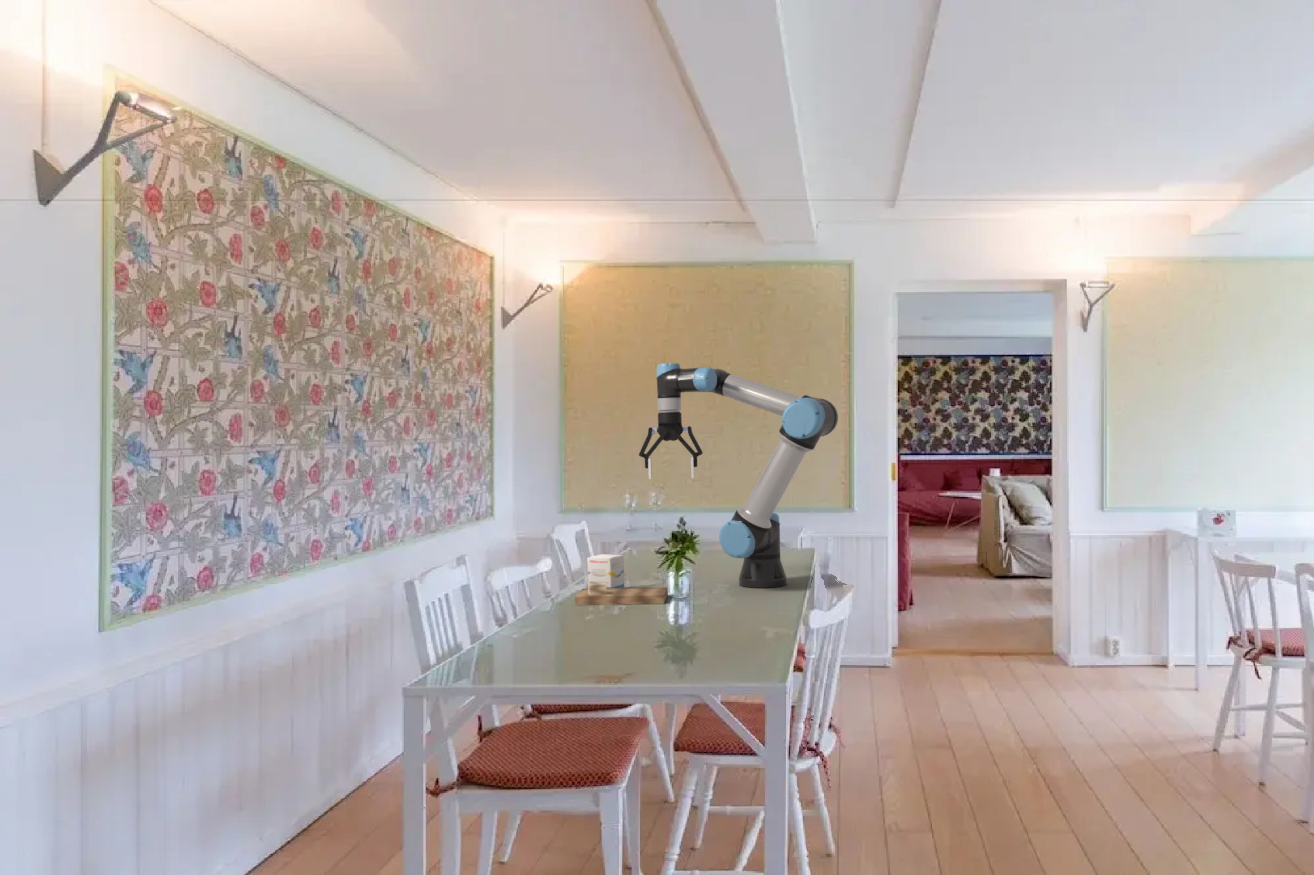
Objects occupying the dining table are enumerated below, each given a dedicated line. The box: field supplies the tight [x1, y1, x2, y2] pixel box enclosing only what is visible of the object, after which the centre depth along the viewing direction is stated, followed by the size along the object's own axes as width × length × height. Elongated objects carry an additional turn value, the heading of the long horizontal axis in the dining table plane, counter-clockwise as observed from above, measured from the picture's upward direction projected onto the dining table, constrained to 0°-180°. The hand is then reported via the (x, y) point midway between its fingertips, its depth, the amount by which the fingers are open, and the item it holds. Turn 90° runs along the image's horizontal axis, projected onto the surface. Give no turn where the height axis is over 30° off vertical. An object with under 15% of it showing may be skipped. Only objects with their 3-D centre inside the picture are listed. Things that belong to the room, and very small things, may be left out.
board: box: [574, 586, 669, 606], centre depth 303 cm, size 26×14×3 cm, turn 85°
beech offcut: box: [587, 582, 607, 596], centre depth 300 cm, size 5×4×3 cm
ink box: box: [586, 553, 625, 588], centre depth 317 cm, size 9×8×12 cm
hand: (671, 478), depth 324 cm, fingers open, 13 cm apart
